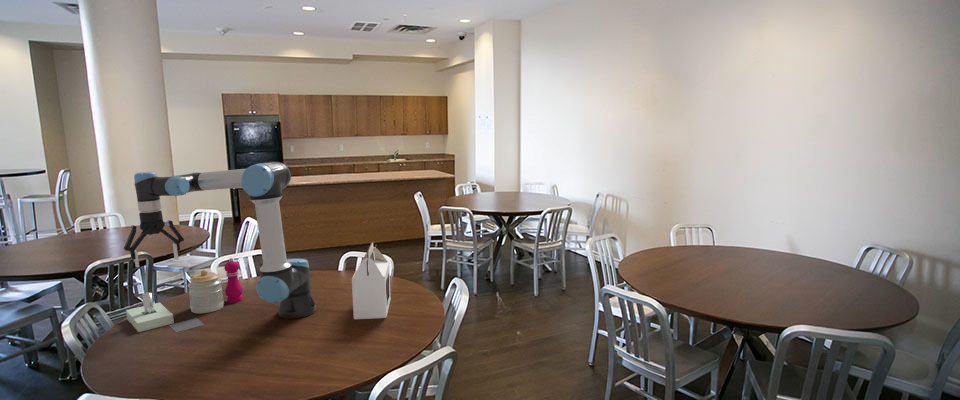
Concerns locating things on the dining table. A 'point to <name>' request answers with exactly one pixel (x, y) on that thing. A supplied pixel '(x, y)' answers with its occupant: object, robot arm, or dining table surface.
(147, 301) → the pin
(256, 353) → the dining table surface
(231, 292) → the pepper mill
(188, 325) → the mat
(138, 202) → the robot arm
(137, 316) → the socket block
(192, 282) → the jar
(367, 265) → the gable box
